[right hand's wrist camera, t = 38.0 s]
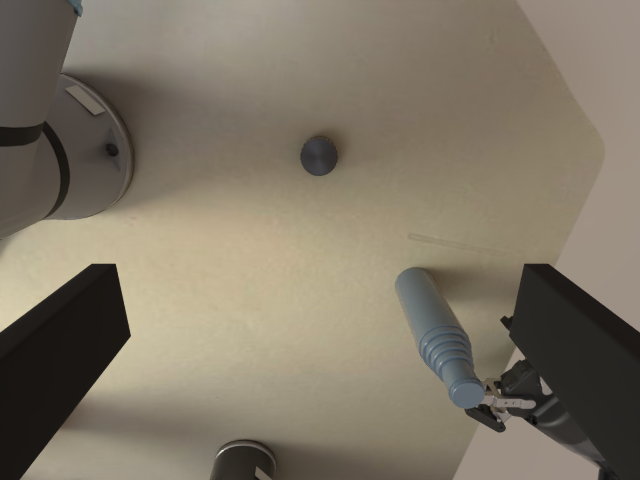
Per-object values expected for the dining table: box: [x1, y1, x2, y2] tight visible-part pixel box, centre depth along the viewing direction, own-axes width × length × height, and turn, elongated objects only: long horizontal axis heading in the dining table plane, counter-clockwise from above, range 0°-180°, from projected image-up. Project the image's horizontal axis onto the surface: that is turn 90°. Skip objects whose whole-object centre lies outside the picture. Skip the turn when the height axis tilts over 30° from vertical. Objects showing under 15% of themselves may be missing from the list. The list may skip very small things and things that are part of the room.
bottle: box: [395, 268, 485, 409], centre depth 39 cm, size 5×5×19 cm
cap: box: [300, 136, 338, 176], centre depth 41 cm, size 4×4×2 cm
